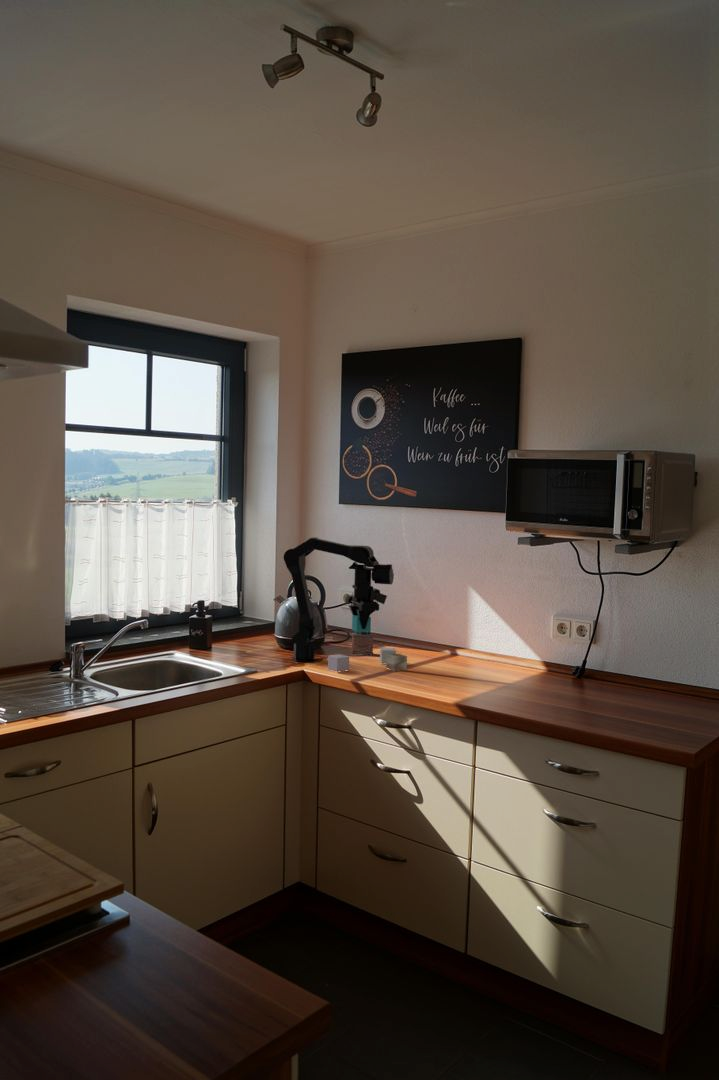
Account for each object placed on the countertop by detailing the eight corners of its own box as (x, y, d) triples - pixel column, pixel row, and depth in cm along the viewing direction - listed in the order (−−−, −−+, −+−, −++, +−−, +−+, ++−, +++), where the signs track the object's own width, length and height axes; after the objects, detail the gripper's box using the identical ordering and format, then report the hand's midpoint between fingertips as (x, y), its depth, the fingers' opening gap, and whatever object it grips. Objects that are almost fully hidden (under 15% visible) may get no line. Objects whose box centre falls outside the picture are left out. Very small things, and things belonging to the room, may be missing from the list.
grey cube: (381, 664, 304) (381, 650, 304) (379, 661, 309) (380, 647, 309) (395, 664, 305) (396, 650, 304) (393, 661, 310) (394, 647, 309)
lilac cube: (336, 673, 288) (337, 658, 288) (327, 670, 292) (328, 655, 292) (348, 671, 291) (349, 656, 291) (339, 668, 295) (340, 654, 295)
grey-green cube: (393, 672, 293) (394, 657, 293) (386, 668, 297) (386, 654, 297) (406, 670, 295) (407, 656, 295) (398, 667, 300) (399, 653, 299)
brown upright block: (373, 653, 322) (374, 626, 321) (372, 655, 319) (373, 628, 318) (351, 652, 323) (352, 625, 322) (350, 654, 320) (351, 627, 319)
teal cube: (356, 632, 298) (357, 617, 297) (351, 629, 302) (352, 615, 302) (370, 631, 299) (370, 617, 299) (365, 629, 304) (366, 615, 304)
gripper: (394, 585, 293) (392, 632, 294) (375, 579, 311) (374, 622, 312) (363, 586, 290) (361, 632, 291) (345, 579, 307) (344, 623, 309)
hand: (361, 627), depth 301 cm, fingers closed on teal cube, 5 cm apart
